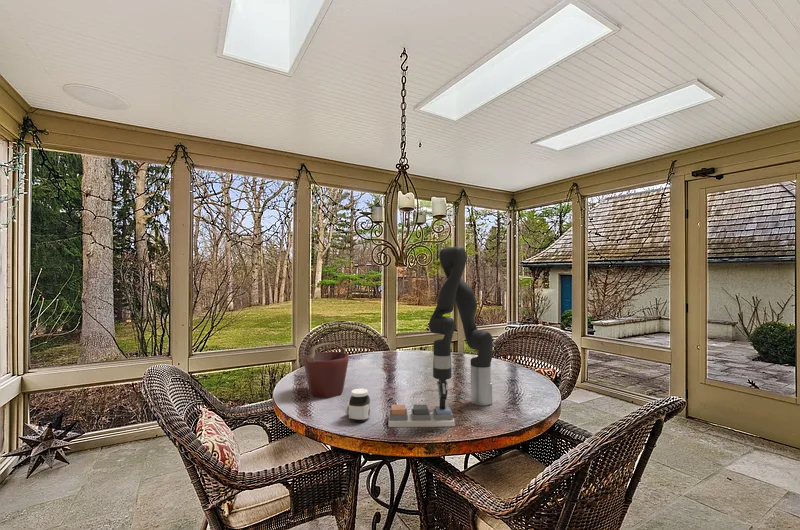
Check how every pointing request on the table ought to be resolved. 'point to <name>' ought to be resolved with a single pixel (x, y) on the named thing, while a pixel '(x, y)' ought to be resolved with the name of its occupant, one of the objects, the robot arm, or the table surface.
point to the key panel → (420, 420)
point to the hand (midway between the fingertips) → (442, 408)
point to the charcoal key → (420, 409)
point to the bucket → (326, 371)
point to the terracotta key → (398, 410)
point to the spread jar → (358, 406)
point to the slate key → (442, 410)
